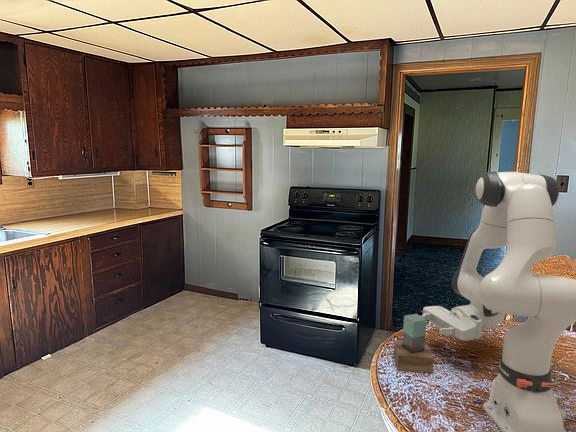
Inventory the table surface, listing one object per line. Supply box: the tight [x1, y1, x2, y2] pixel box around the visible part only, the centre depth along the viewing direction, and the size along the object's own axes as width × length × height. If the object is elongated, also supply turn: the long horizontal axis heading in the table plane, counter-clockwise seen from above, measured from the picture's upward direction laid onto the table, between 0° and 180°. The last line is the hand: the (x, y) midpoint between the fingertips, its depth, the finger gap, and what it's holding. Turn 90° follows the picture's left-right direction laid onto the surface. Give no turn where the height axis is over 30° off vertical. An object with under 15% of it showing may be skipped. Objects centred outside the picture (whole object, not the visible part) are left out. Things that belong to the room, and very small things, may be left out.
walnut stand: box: [393, 339, 435, 374], centre depth 135 cm, size 11×11×5 cm
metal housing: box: [402, 313, 427, 354], centre depth 134 cm, size 5×5×11 cm
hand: (429, 325), depth 136 cm, fingers open, 8 cm apart
